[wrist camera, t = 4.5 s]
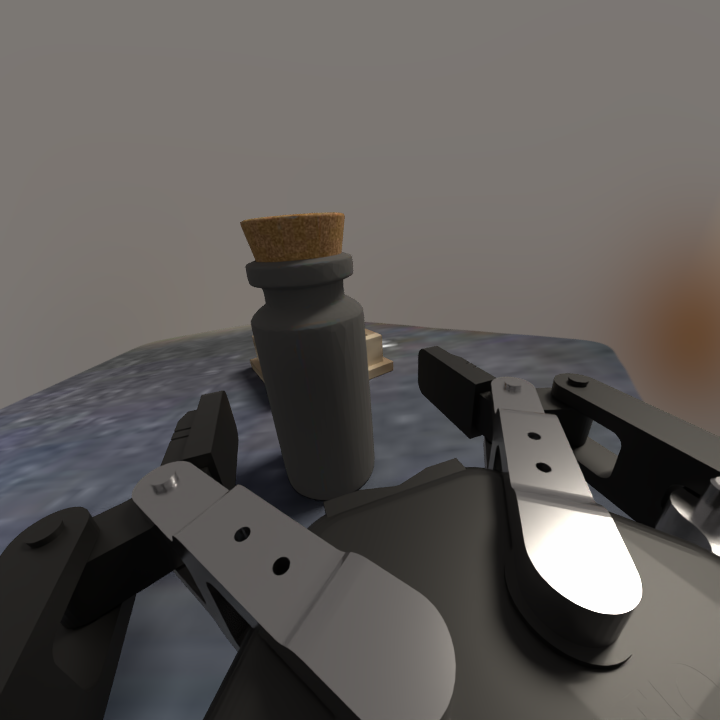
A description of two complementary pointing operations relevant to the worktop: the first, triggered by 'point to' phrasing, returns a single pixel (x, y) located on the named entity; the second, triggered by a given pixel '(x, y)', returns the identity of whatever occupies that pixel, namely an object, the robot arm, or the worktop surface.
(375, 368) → the bottle holder
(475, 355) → the worktop surface
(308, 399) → the bottle
